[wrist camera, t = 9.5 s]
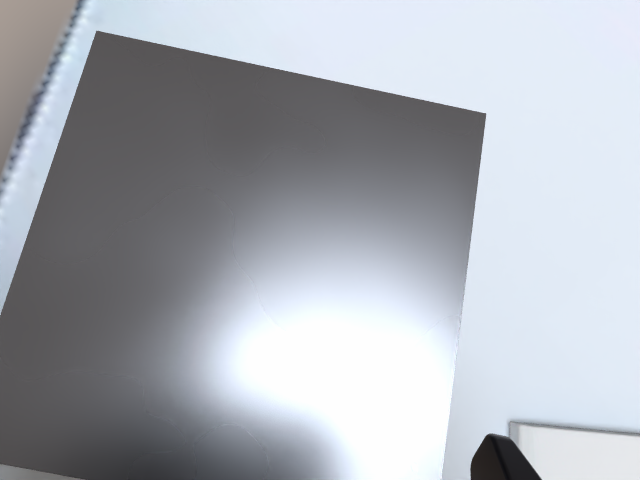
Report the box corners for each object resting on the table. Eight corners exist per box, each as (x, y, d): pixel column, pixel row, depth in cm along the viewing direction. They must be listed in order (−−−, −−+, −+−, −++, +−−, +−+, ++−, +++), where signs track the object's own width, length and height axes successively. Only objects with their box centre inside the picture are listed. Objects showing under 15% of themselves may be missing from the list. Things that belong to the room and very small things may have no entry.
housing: (326, 402, 18) (434, 543, 5) (191, 376, 18) (-47, 455, 5) (350, 270, 19) (486, 113, 6) (223, 244, 19) (96, 30, 6)
